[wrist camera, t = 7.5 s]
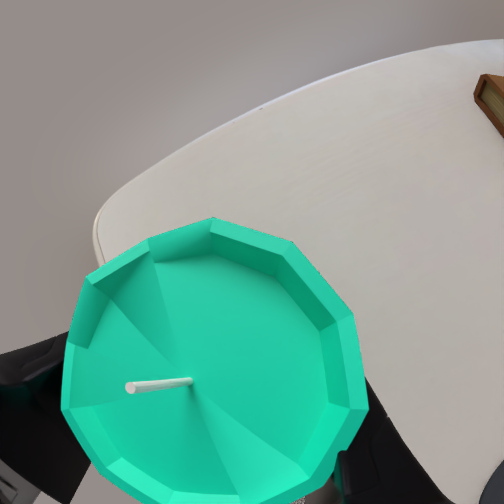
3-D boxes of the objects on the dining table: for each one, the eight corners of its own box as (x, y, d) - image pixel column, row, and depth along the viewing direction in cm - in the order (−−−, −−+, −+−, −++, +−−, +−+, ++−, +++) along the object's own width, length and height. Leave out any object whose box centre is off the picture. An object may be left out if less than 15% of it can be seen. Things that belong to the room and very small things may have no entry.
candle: (322, 318, 14) (404, 179, 3) (306, 429, 12) (333, 596, 1) (212, 305, 15) (53, 175, 4) (194, 410, 13) (1, 465, 2)
